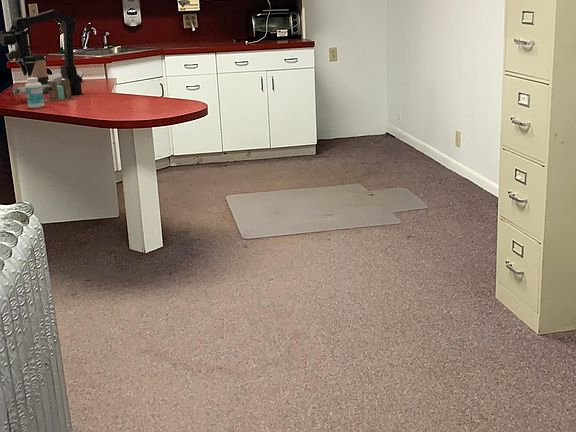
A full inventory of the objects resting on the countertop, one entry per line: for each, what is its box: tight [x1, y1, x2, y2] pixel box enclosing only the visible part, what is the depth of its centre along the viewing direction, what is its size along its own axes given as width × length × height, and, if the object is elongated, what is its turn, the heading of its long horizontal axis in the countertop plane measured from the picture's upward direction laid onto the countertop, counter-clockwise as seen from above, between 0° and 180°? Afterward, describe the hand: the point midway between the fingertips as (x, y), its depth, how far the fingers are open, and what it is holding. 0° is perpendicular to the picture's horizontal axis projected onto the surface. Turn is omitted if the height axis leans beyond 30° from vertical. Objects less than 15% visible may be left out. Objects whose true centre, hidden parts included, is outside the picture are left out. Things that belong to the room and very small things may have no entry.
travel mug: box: [31, 54, 49, 95], centre depth 404 cm, size 8×8×20 cm
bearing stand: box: [44, 79, 76, 103], centre depth 373 cm, size 20×10×9 cm, turn 122°
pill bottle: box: [24, 77, 45, 109], centre depth 350 cm, size 8×7×14 cm
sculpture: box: [47, 68, 85, 86], centre depth 446 cm, size 25×19×10 cm
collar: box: [57, 84, 65, 99], centre depth 375 cm, size 3×6×6 cm, turn 32°
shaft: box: [12, 84, 52, 96], centre depth 369 cm, size 19×4×4 cm, turn 122°
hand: (27, 76), depth 375 cm, fingers open, 9 cm apart
